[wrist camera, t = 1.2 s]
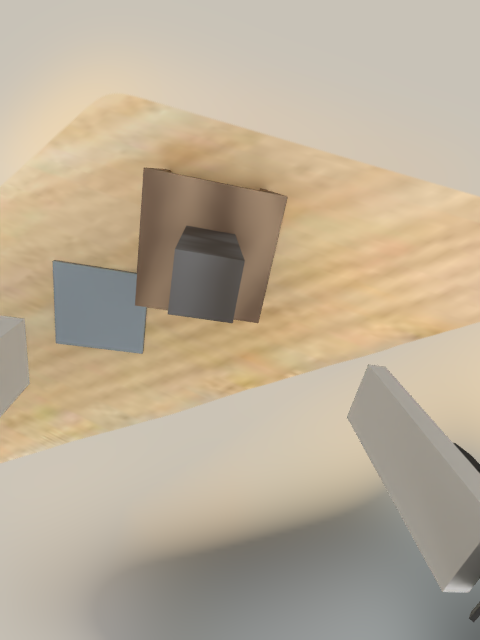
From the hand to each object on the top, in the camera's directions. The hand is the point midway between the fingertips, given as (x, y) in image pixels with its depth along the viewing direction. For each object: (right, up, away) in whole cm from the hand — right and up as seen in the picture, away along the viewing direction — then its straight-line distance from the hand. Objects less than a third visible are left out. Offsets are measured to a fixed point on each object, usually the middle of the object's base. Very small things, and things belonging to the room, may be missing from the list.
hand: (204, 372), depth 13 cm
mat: (-18, +4, +33) cm, 37 cm away
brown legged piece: (-3, +13, +29) cm, 32 cm away
